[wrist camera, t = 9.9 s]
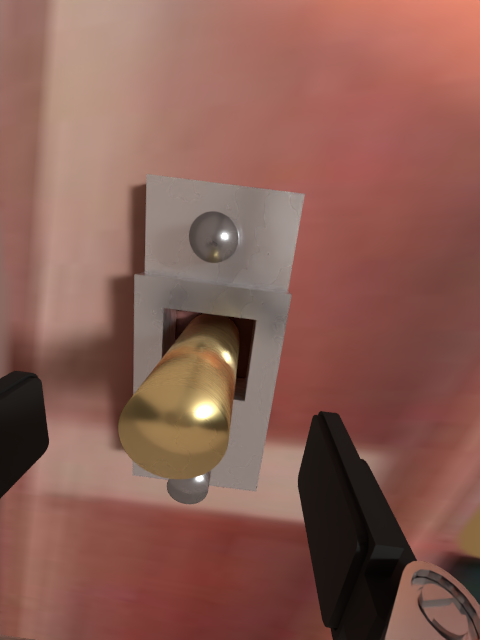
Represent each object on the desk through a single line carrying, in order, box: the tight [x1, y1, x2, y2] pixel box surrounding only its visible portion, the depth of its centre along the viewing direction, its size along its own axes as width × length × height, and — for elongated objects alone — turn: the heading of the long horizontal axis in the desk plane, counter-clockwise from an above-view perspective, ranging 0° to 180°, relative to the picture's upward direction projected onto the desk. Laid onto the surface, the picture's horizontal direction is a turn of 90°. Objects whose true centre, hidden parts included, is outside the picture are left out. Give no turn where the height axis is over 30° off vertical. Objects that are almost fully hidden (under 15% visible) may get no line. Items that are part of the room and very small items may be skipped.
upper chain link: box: [133, 272, 291, 504], centre depth 17 cm, size 14×9×6 cm, turn 173°
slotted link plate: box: [145, 174, 305, 389], centre depth 16 cm, size 14×9×4 cm, turn 173°
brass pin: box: [118, 313, 240, 479], centre depth 14 cm, size 4×4×10 cm
